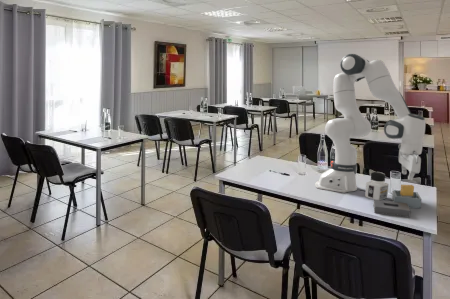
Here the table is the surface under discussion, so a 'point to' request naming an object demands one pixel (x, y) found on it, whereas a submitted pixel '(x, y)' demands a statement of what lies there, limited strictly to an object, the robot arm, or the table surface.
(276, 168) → the table surface
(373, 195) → the container
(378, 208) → the block
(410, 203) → the parts tray
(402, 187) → the fuse
